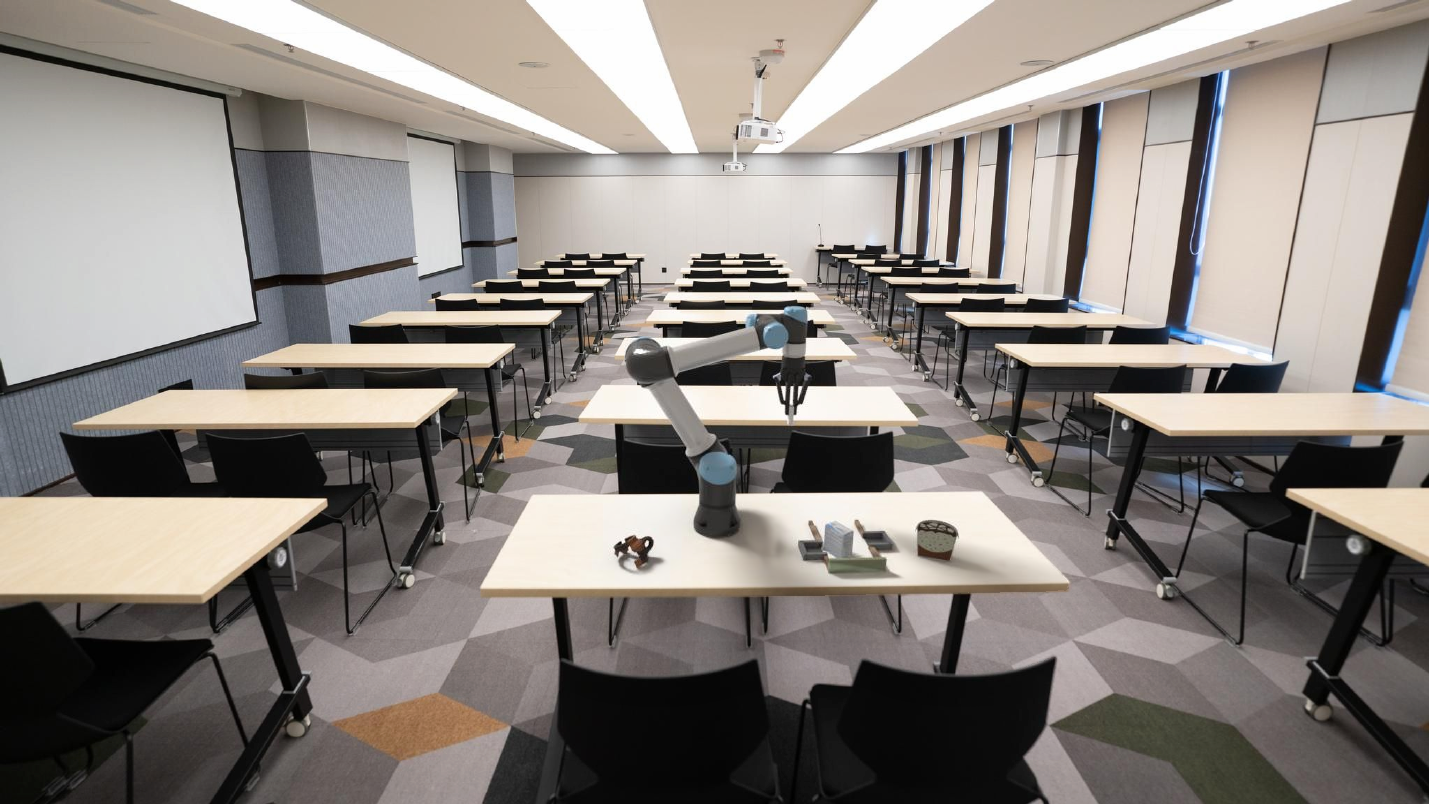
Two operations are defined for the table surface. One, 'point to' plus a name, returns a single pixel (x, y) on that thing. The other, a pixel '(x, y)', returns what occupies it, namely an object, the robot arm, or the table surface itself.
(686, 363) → the robot arm
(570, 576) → the table surface
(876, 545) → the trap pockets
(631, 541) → the brown looped part
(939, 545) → the food container
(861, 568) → the walnut lane
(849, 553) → the medicine box
